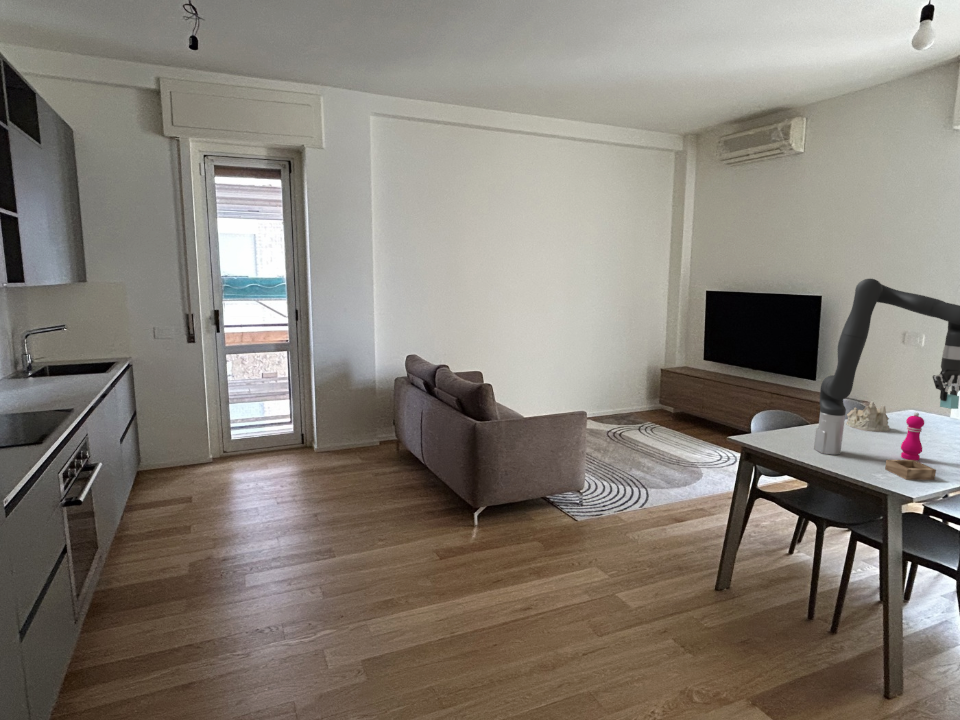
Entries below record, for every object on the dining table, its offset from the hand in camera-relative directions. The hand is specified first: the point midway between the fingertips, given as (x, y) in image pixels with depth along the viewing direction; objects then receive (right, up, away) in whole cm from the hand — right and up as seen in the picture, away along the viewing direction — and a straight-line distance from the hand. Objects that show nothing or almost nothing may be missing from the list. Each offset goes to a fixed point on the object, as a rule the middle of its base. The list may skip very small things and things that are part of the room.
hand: (947, 400), depth 223 cm
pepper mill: (-3, -26, +16) cm, 31 cm away
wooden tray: (-17, -29, -3) cm, 34 cm away
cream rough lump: (+11, -18, +63) cm, 66 cm away
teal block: (0, -3, -1) cm, 3 cm away
